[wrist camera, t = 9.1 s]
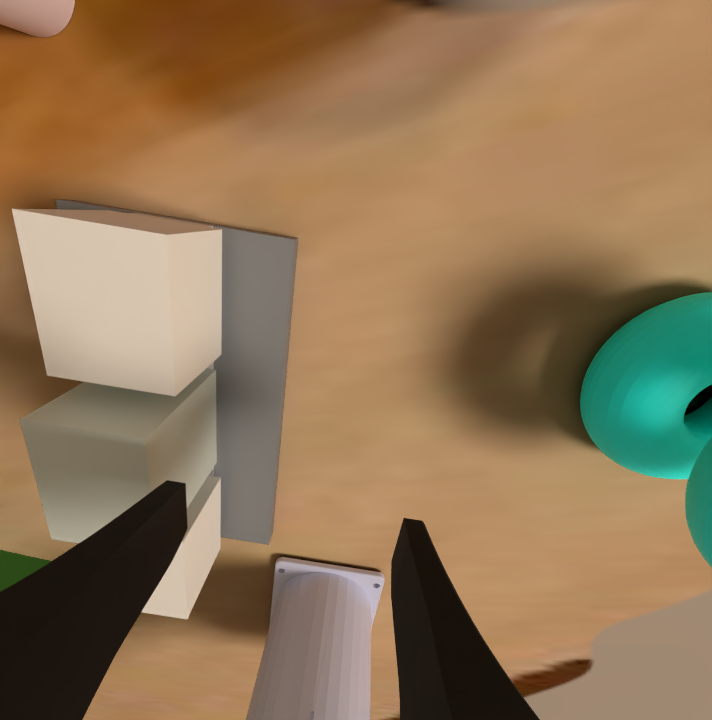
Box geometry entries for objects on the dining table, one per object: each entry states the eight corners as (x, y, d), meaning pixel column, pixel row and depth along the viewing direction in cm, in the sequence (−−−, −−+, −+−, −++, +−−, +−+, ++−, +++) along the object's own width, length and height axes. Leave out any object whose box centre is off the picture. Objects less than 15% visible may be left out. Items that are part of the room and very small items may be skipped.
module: (216, 462, 20) (156, 555, 15) (137, 449, 20) (47, 538, 15) (216, 369, 18) (144, 438, 12) (126, 355, 18) (15, 418, 12)
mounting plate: (272, 532, 25) (241, 627, 19) (118, 507, 25) (40, 596, 19) (298, 238, 17) (258, 250, 11) (73, 200, 17) (-83, 193, 11)
